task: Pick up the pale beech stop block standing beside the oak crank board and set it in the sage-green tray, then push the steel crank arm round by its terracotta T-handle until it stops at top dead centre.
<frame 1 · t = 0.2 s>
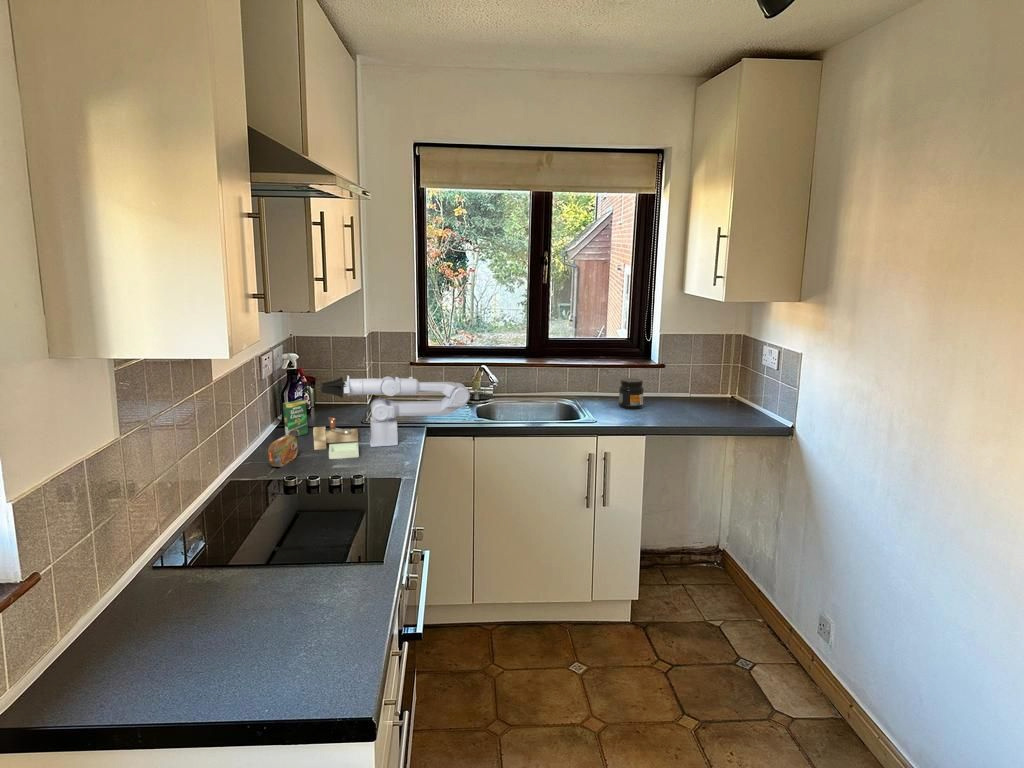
hand: (321, 387, 234), 21 cm above the worktop, tool horizontal, fingers open, 7 cm apart
supplement container: (630, 407, 296), on the worktop
crank base: (341, 437, 250), on the worktop
crank: (339, 425, 250), point 4 cm above the worktop, hinge at -45.0°
tin: (284, 463, 222), on the worktop
tray: (344, 453, 231), on the worktop
green cardboard box: (296, 436, 252), on the worktop
stop block: (320, 447, 238), on the worktop
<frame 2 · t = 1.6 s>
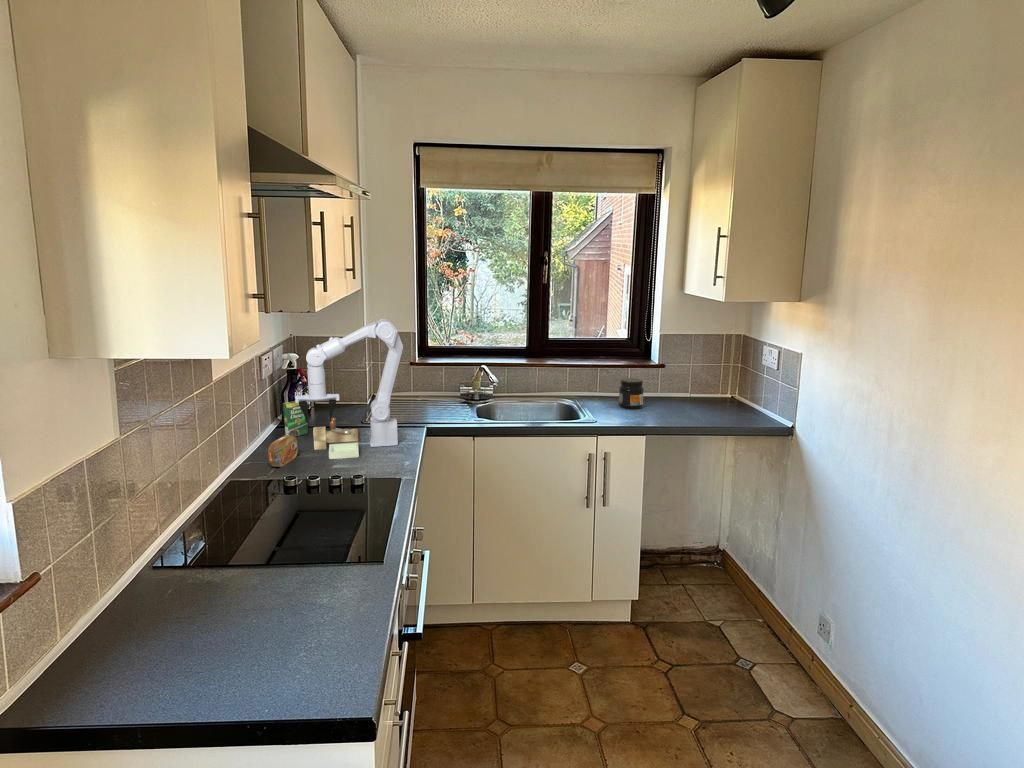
hand: (318, 421, 236), 9 cm above the worktop, tool pointing down, fingers open, 7 cm apart
nothing on the worktop moved.
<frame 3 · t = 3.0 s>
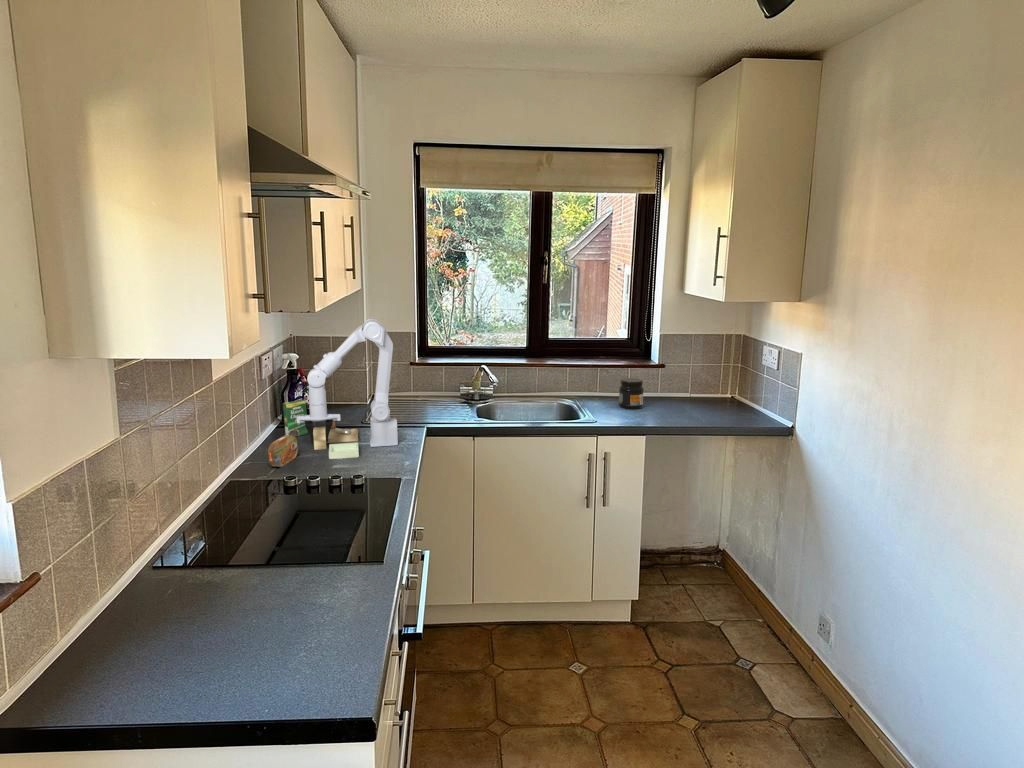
hand: (320, 441, 238), 2 cm above the worktop, tool pointing down, fingers closed on stop block, 4 cm apart
stop block: (320, 447, 238), on the worktop, touching gripper
everything else where it was.
when the fingers open (4 cm above the worktop, at t = 6.7 s): stop block drops 1 cm, resting on tray.
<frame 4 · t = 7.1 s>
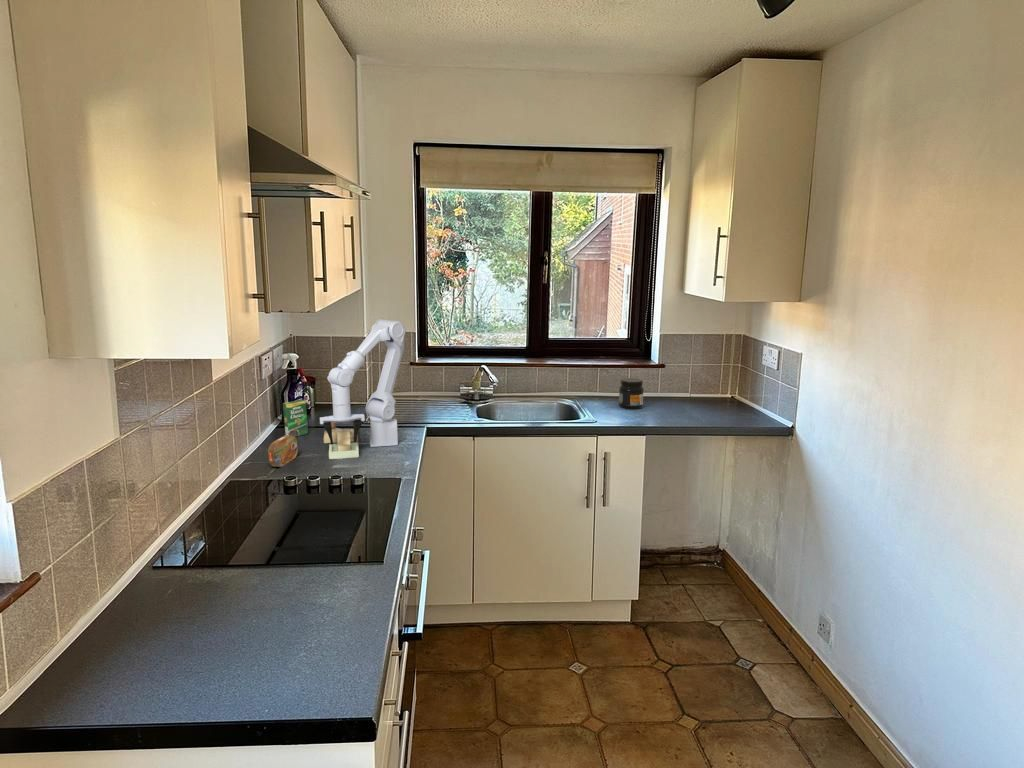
hand: (343, 442, 231), 4 cm above the worktop, tool pointing down, fingers open, 7 cm apart
stop block: (344, 452, 231), resting on tray
everything else where it was.
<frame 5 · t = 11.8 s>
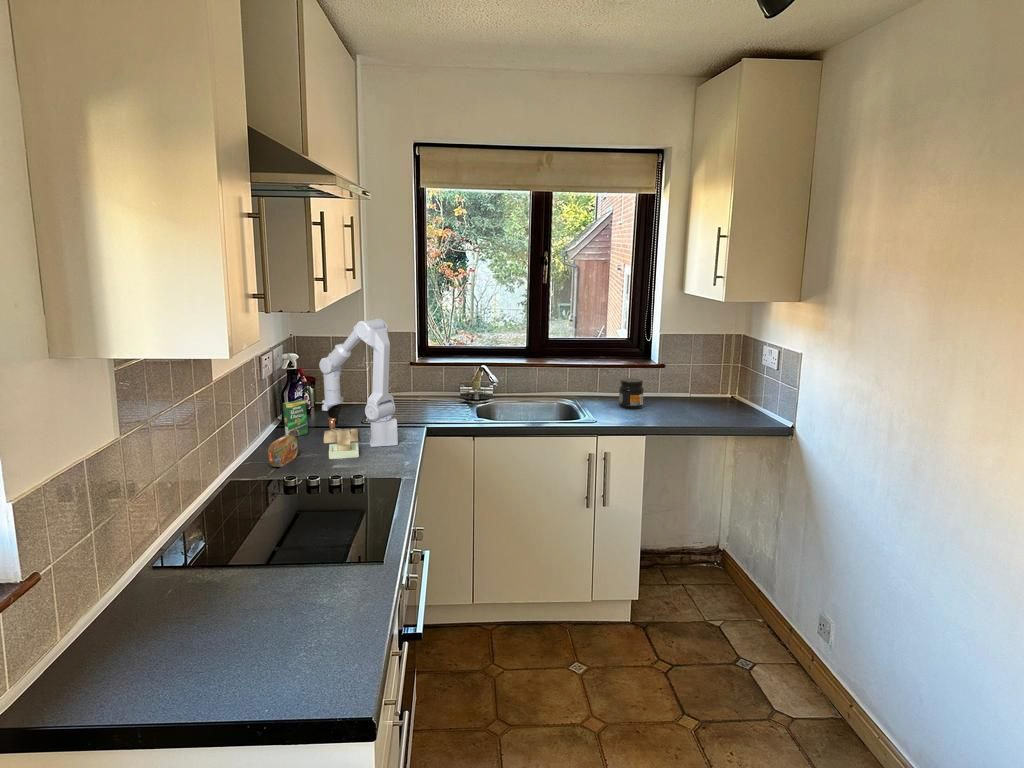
hand: (334, 424, 254), 3 cm above the worktop, tool pointing down, fingers closed, pressing on crank
crank: (339, 425, 250), point 4 cm above the worktop, hinge at -43.8°, touching gripper
everything else where it was.
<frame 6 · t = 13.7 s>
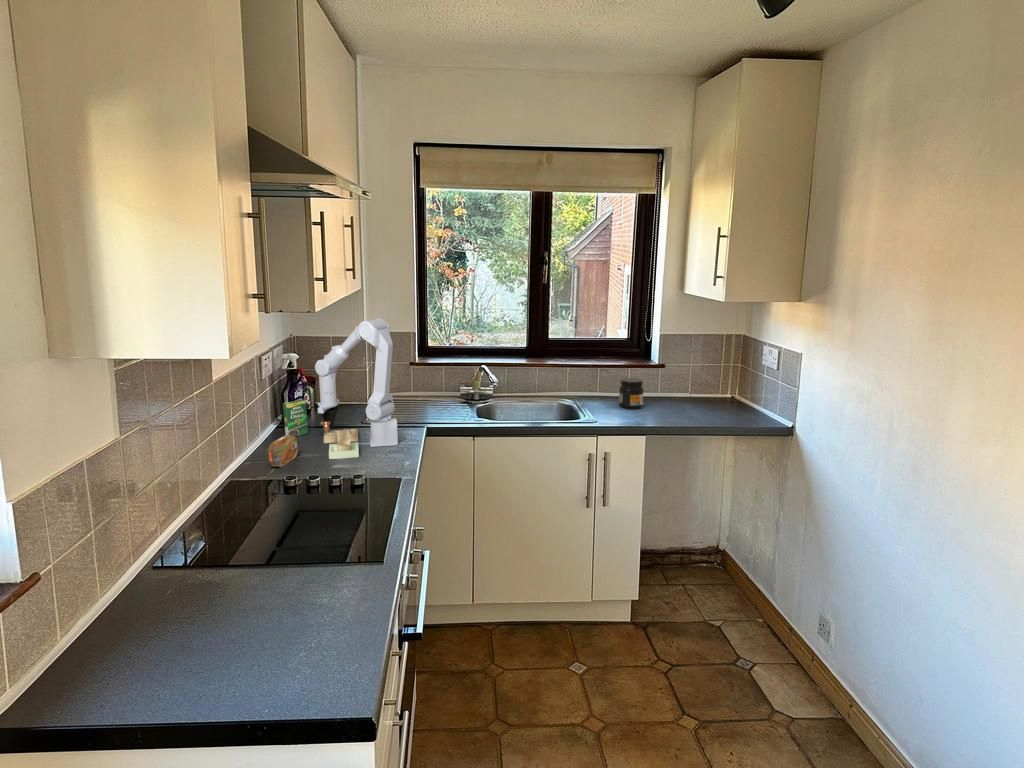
hand: (330, 427, 250), 3 cm above the worktop, tool pointing down, fingers closed
crank: (337, 427, 248), point 4 cm above the worktop, hinge at -0.8°
everything else where it was.
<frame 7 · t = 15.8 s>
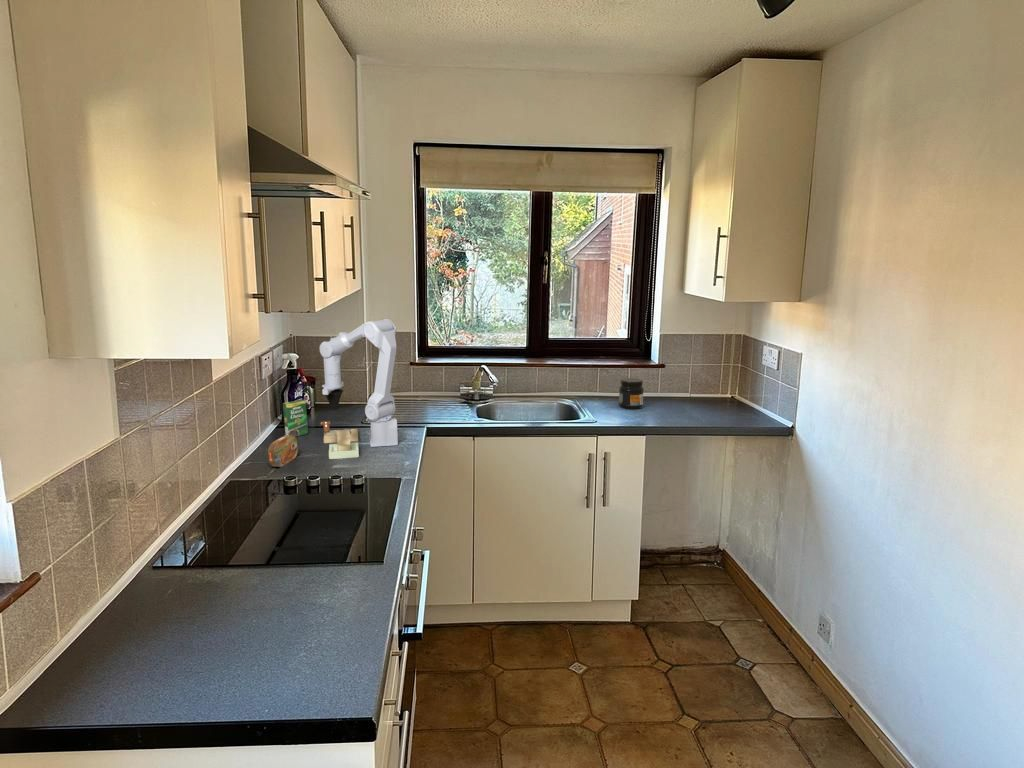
hand: (334, 409, 252), 9 cm above the worktop, tool pointing down, fingers closed
nothing on the worktop moved.
at the end: stop block 0.0 cm off-centre on the tray, point 0.5 cm above the tray's base; stop block tilted 0°; crank at -1° (first picture: -45°) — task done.
